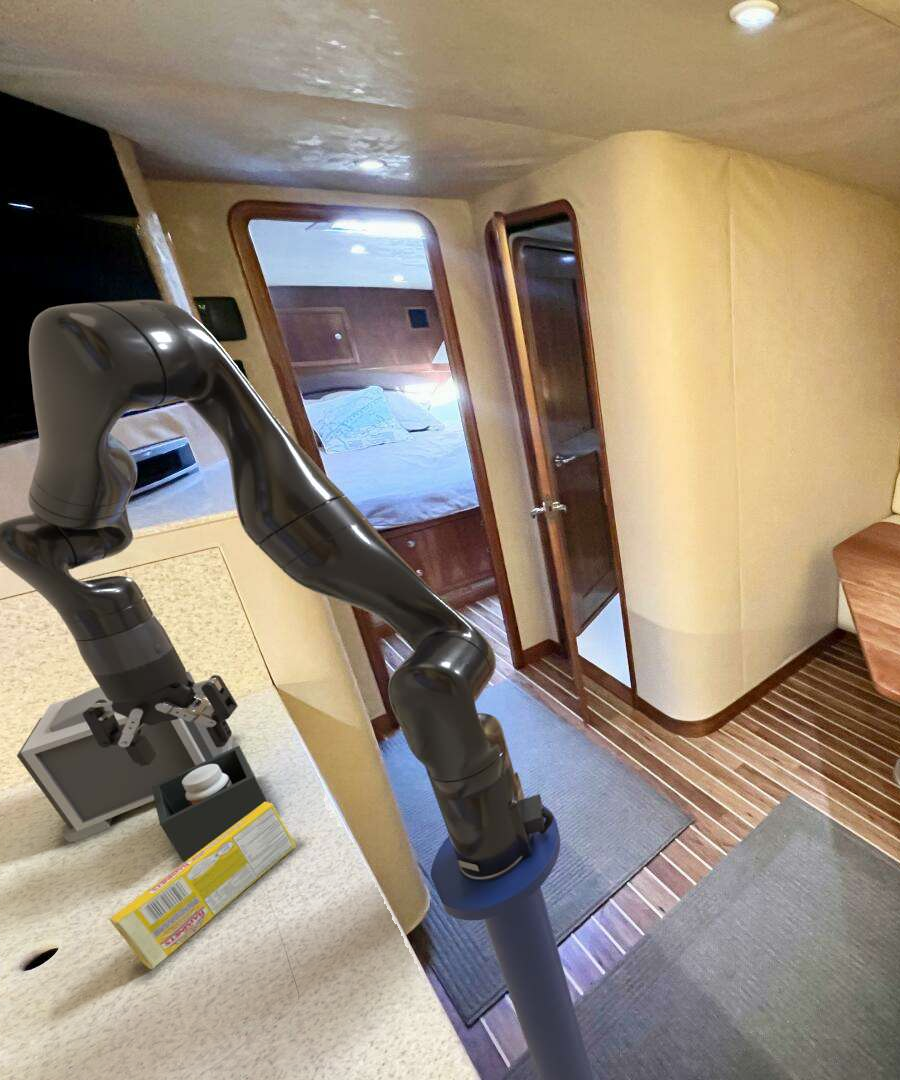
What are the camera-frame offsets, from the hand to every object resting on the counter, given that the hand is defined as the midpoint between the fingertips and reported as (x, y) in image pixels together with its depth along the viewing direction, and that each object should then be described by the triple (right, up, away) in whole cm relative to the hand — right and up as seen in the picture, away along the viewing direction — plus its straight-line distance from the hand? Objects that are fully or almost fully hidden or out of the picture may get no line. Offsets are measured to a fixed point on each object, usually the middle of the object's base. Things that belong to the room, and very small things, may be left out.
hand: (187, 752), depth 75 cm
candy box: (+12, -16, -7) cm, 21 cm away
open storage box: (+1, -12, +5) cm, 13 cm away
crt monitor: (-17, -10, +12) cm, 23 cm away
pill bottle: (+1, -12, +5) cm, 13 cm away
